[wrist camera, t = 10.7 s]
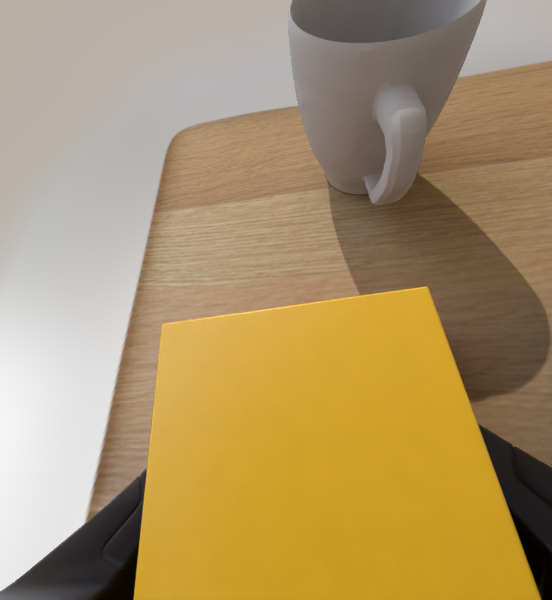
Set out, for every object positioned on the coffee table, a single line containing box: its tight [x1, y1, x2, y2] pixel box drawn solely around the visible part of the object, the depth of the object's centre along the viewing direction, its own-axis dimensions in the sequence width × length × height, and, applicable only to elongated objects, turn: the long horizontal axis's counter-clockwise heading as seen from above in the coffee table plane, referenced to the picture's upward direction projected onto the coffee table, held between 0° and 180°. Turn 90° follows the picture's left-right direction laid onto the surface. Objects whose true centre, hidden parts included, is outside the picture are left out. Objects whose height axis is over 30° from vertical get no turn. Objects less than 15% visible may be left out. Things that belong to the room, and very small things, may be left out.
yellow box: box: [134, 287, 541, 600], centre depth 9 cm, size 4×4×11 cm
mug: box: [288, 0, 487, 205], centre depth 17 cm, size 12×9×10 cm
